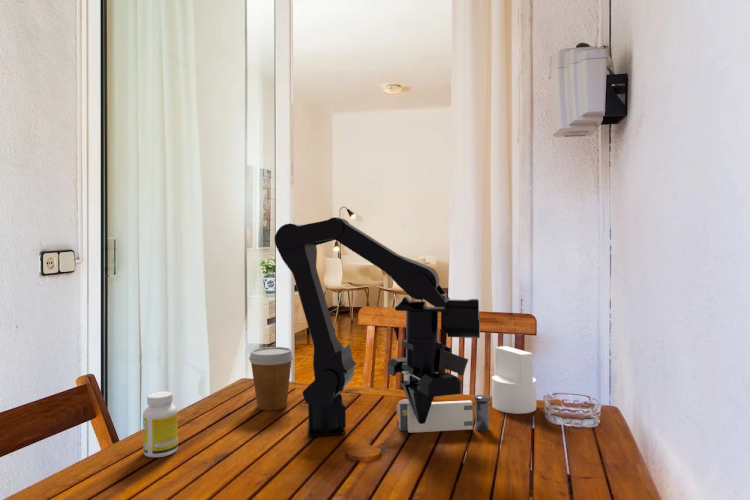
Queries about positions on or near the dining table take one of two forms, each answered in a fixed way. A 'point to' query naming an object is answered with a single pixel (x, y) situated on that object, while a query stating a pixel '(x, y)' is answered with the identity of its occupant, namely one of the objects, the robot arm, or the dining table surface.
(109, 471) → the dining table surface
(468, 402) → the long white bar
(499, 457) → the dining table surface
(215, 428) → the dining table surface
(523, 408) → the base with upright slab
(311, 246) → the robot arm
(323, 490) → the dining table surface
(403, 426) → the post
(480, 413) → the hinge post
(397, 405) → the ball
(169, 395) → the supplement bottle
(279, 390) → the disposable coffee cup
